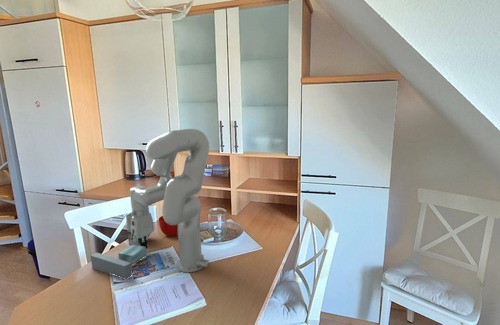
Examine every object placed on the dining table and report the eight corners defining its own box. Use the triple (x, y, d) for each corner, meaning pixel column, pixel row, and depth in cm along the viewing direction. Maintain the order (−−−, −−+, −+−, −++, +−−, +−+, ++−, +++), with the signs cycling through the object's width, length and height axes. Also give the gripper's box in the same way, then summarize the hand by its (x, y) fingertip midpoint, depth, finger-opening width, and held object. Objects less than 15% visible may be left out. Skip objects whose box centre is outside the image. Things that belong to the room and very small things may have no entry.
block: (147, 256, 137) (146, 246, 136) (133, 266, 129) (132, 255, 128) (133, 254, 140) (132, 244, 139) (119, 263, 131) (118, 253, 131)
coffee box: (139, 245, 149) (136, 215, 146) (128, 244, 150) (125, 215, 148) (149, 238, 158) (146, 209, 155) (138, 237, 159) (135, 209, 156)
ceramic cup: (174, 243, 150) (173, 224, 149) (155, 235, 161) (153, 218, 159) (193, 234, 161) (192, 217, 159) (174, 228, 171) (172, 212, 169)
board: (132, 276, 120) (130, 262, 119) (126, 279, 118) (124, 266, 117) (98, 264, 130) (96, 252, 129) (92, 268, 128) (90, 255, 127)
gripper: (133, 218, 128) (136, 256, 131) (158, 208, 141) (161, 243, 144) (121, 216, 132) (125, 253, 135) (147, 206, 145) (150, 240, 148)
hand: (144, 248), depth 139 cm, fingers closed
